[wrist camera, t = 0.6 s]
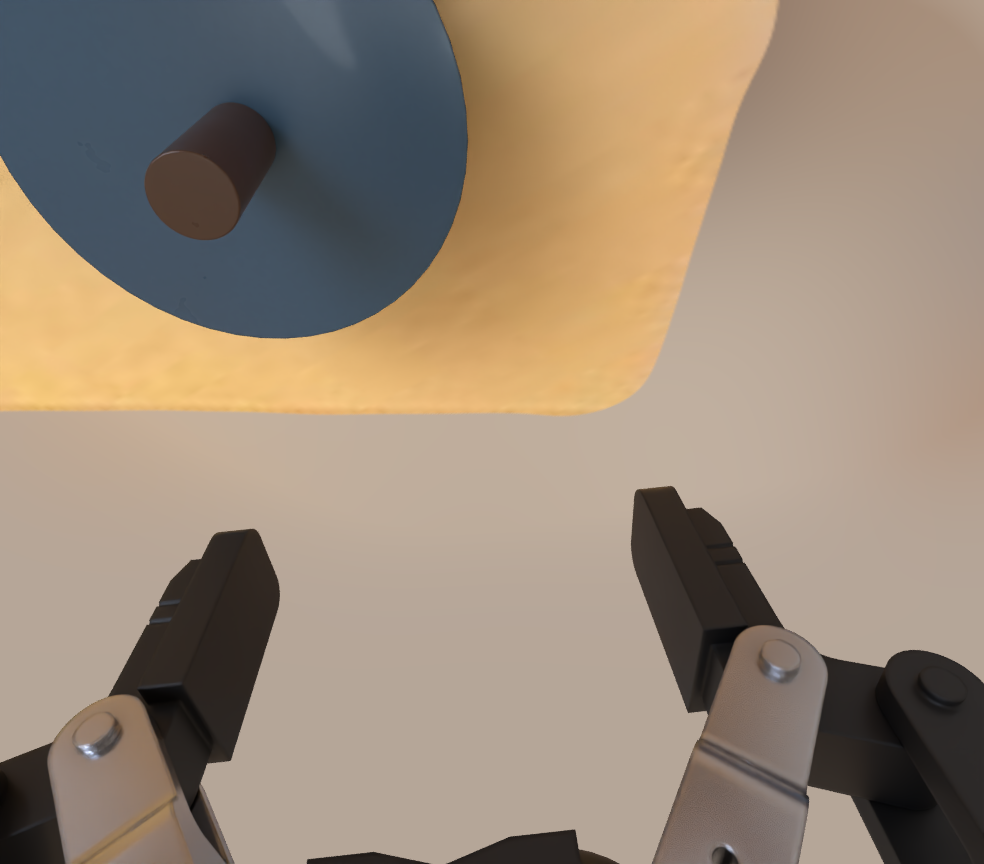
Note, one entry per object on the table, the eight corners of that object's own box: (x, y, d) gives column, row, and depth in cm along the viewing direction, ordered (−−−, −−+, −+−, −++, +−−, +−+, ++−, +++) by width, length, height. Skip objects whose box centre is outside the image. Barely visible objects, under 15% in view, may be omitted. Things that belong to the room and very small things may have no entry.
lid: (31, 283, 25) (-79, 384, 20) (-96, -315, 15) (-409, -478, 9) (416, 355, 30) (420, 453, 24) (522, -60, 20) (572, -62, 14)
